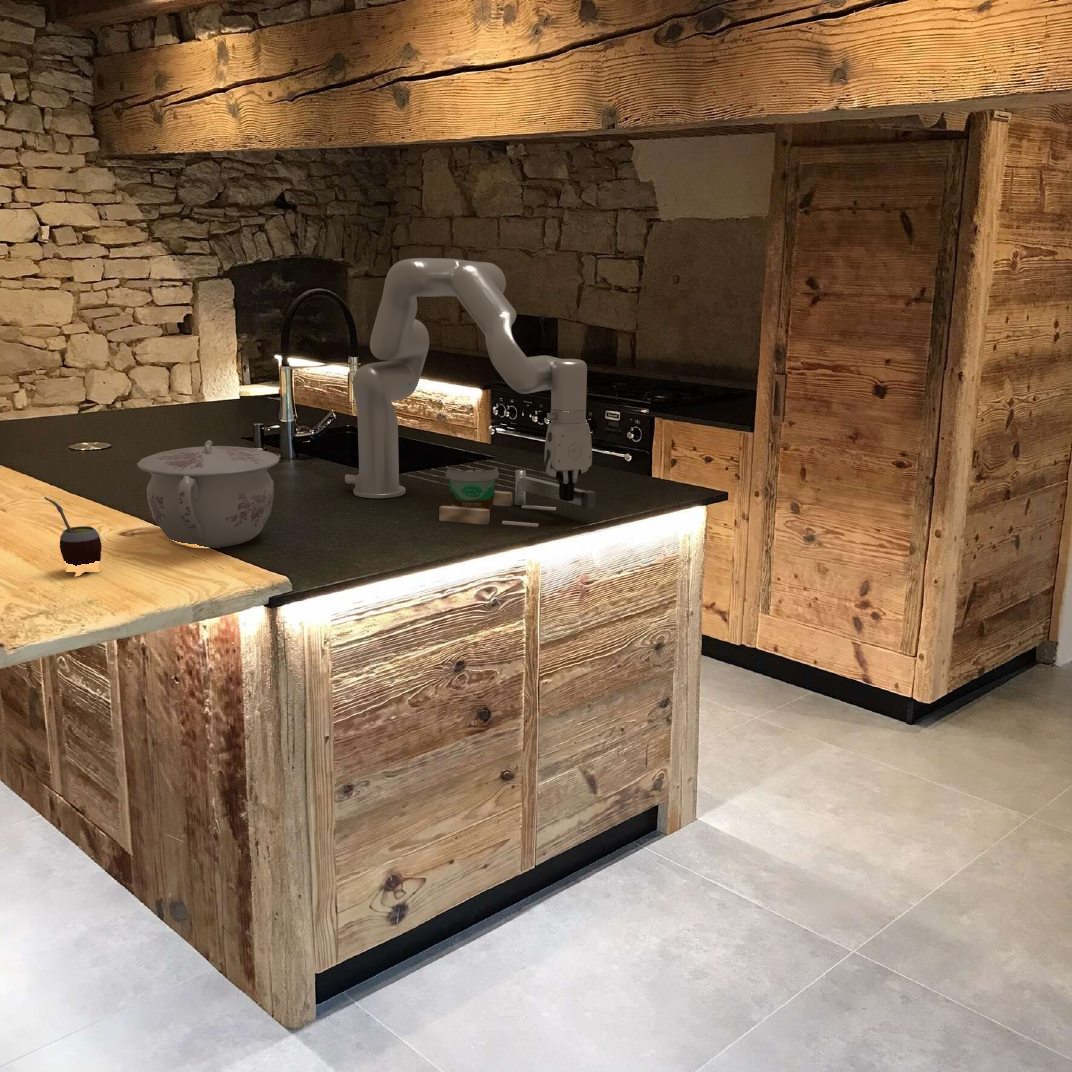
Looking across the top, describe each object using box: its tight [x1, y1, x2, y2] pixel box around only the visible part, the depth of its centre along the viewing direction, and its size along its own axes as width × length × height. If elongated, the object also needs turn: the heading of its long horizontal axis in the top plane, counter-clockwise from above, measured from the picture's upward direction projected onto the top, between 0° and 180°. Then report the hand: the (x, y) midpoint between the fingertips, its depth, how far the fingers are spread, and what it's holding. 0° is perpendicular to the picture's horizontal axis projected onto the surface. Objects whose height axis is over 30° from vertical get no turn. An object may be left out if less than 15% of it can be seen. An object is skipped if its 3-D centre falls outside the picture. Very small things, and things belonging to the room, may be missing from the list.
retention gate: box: [514, 469, 596, 509], centre depth 247 cm, size 2×25×8 cm, turn 42°
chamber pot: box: [136, 439, 281, 547], centre depth 220 cm, size 28×28×21 cm
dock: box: [438, 490, 513, 526], centre depth 249 cm, size 11×20×3 cm, turn 165°
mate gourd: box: [43, 496, 103, 566], centre depth 198 cm, size 8×8×15 cm
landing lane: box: [501, 504, 557, 528], centre depth 246 cm, size 8×17×1 cm, turn 165°
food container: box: [445, 466, 500, 513], centre depth 248 cm, size 12×6×10 cm, turn 105°
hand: (566, 499), depth 240 cm, fingers closed
